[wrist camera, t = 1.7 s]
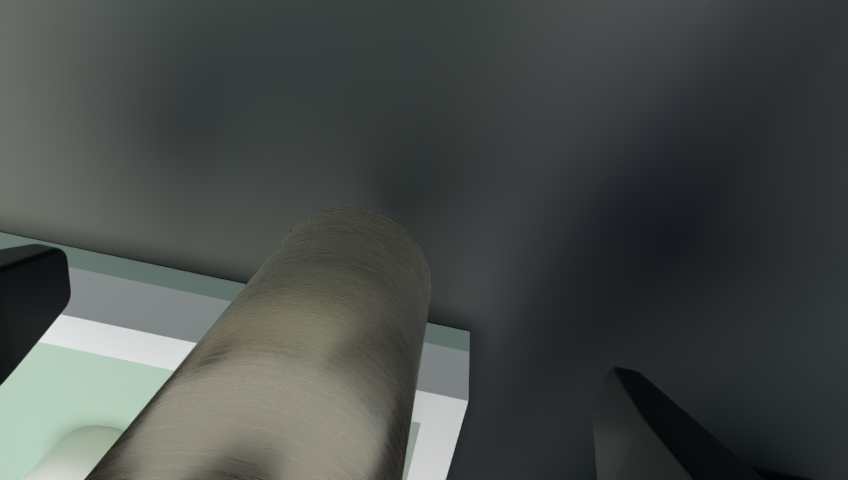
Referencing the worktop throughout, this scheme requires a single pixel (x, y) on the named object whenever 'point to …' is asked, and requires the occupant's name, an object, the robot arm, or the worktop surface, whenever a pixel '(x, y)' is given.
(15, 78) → the worktop surface
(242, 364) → the cylinder
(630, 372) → the robot arm
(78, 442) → the puck
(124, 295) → the pitch
